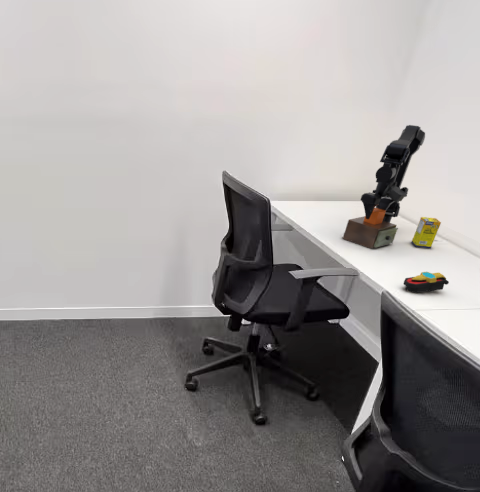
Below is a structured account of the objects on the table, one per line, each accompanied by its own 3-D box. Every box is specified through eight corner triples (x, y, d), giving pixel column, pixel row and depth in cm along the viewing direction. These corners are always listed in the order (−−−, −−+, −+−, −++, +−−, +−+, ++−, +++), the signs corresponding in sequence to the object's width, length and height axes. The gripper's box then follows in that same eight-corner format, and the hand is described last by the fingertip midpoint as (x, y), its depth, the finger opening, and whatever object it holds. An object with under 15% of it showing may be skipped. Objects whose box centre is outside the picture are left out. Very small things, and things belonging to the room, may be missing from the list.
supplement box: (430, 248, 223) (441, 222, 217) (415, 247, 224) (425, 220, 218) (426, 244, 228) (436, 218, 222) (410, 242, 229) (420, 216, 223)
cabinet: (389, 244, 226) (396, 224, 221) (371, 248, 220) (378, 229, 215) (360, 234, 235) (366, 215, 231) (342, 238, 229) (348, 219, 225)
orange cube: (370, 219, 226) (374, 207, 223) (381, 223, 223) (386, 210, 220) (363, 221, 224) (367, 209, 221) (374, 224, 220) (378, 212, 217)
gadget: (397, 289, 189) (400, 274, 186) (434, 283, 189) (438, 268, 186) (408, 296, 184) (411, 281, 181) (446, 291, 184) (451, 276, 181)
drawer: (395, 244, 223) (400, 229, 220) (378, 248, 218) (384, 233, 215) (365, 234, 233) (370, 219, 229) (348, 238, 227) (353, 223, 224)
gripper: (393, 185, 203) (378, 226, 212) (420, 180, 212) (405, 220, 221) (366, 178, 211) (353, 218, 220) (393, 173, 220) (380, 212, 228)
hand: (374, 217), depth 222 cm, fingers open, 9 cm apart
